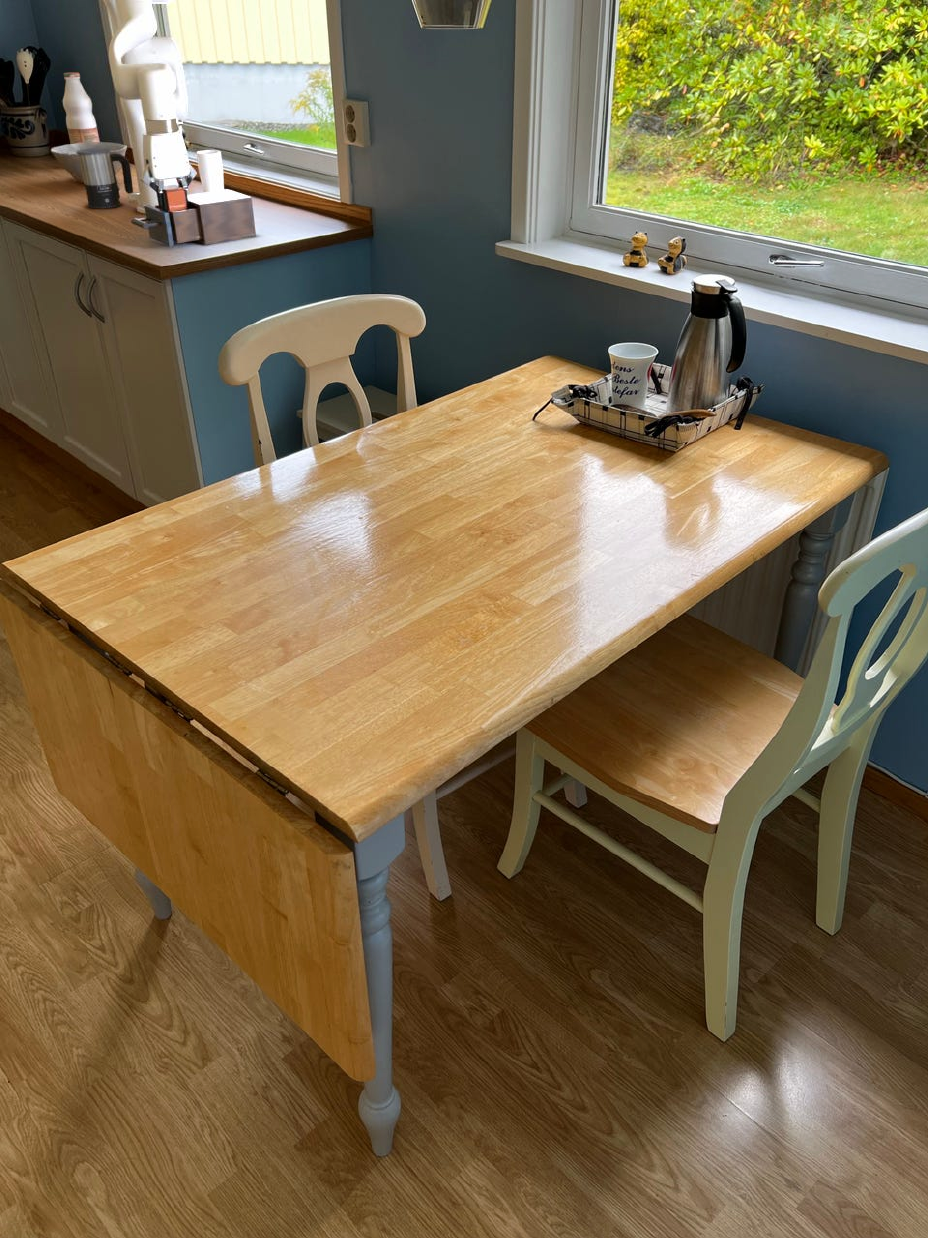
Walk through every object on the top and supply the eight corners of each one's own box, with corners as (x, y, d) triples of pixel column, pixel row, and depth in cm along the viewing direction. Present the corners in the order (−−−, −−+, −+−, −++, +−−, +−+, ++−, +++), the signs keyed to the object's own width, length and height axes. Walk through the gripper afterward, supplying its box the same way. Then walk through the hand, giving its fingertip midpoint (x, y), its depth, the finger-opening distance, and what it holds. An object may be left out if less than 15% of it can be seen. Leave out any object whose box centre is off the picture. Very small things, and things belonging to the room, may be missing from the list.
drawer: (151, 249, 237) (145, 216, 232) (131, 240, 244) (125, 207, 239) (218, 238, 247) (214, 205, 242) (197, 229, 254) (193, 198, 249)
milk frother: (98, 210, 276) (87, 153, 267) (68, 202, 284) (57, 147, 276) (141, 202, 285) (132, 147, 276) (111, 195, 293) (101, 141, 285)
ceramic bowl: (147, 179, 313) (141, 145, 308) (90, 191, 297) (83, 156, 292) (101, 172, 323) (94, 139, 317) (43, 183, 307) (35, 148, 301)
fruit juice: (71, 168, 328) (52, 74, 312) (80, 163, 336) (61, 71, 320) (99, 168, 329) (81, 74, 313) (107, 163, 336) (90, 71, 320)
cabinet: (205, 245, 244) (199, 204, 239) (182, 235, 252) (176, 196, 247) (256, 236, 252) (251, 196, 247) (232, 227, 260) (227, 189, 255)
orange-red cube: (169, 211, 239) (166, 189, 236) (161, 208, 242) (157, 186, 239) (187, 208, 242) (184, 187, 239) (178, 205, 245) (175, 184, 242)
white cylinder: (205, 206, 281) (198, 149, 272) (229, 206, 281) (222, 149, 273) (202, 211, 275) (194, 153, 267) (226, 211, 276) (219, 153, 267)
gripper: (186, 121, 238) (197, 200, 249) (121, 128, 229) (135, 209, 240) (201, 125, 233) (211, 205, 244) (134, 132, 224) (149, 215, 235)
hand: (174, 206), depth 242 cm, fingers closed on orange-red cube, 4 cm apart
